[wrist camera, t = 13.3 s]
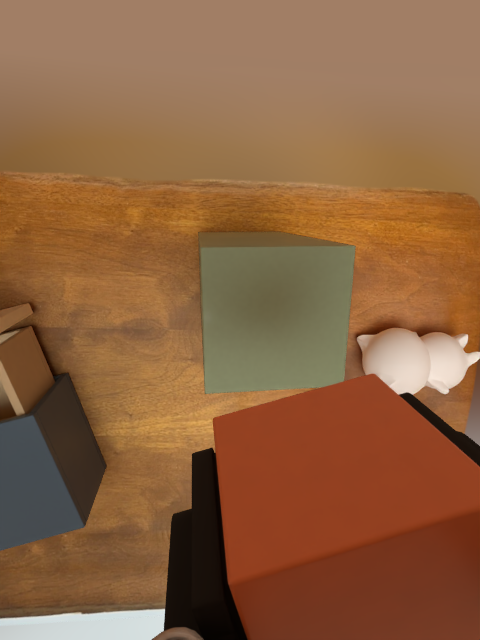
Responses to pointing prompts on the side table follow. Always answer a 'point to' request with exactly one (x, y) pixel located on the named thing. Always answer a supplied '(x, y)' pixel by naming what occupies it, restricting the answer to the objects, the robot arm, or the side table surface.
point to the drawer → (21, 365)
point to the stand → (273, 310)
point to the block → (348, 519)
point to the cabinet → (47, 468)
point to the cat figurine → (416, 359)
